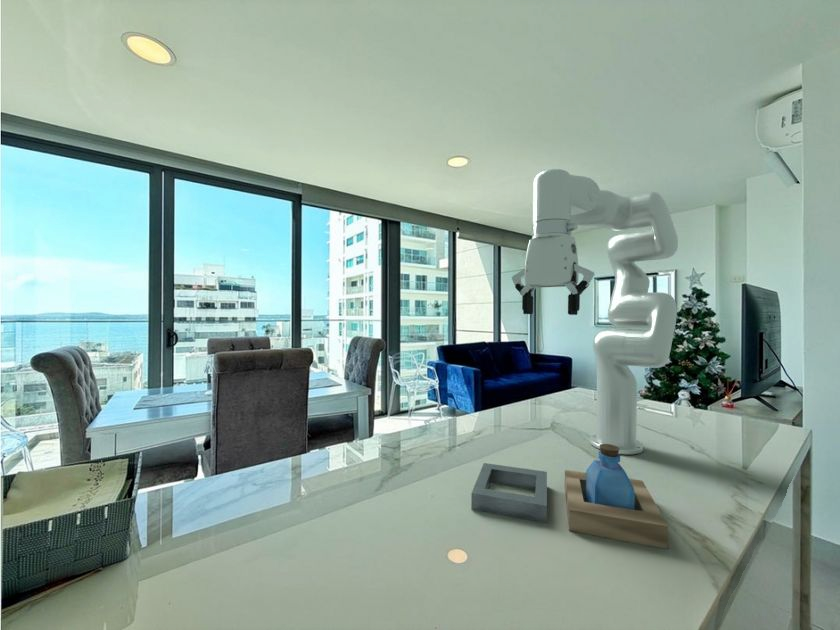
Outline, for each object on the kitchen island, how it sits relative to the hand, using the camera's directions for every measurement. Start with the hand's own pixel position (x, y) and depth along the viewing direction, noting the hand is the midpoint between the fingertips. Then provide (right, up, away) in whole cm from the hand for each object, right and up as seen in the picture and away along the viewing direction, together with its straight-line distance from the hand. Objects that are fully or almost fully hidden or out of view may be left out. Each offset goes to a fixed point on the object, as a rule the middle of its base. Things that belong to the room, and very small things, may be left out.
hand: (549, 314), depth 77 cm
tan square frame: (+7, -36, -11) cm, 38 cm away
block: (-9, -36, -5) cm, 37 cm away
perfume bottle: (+7, -36, -11) cm, 38 cm away
